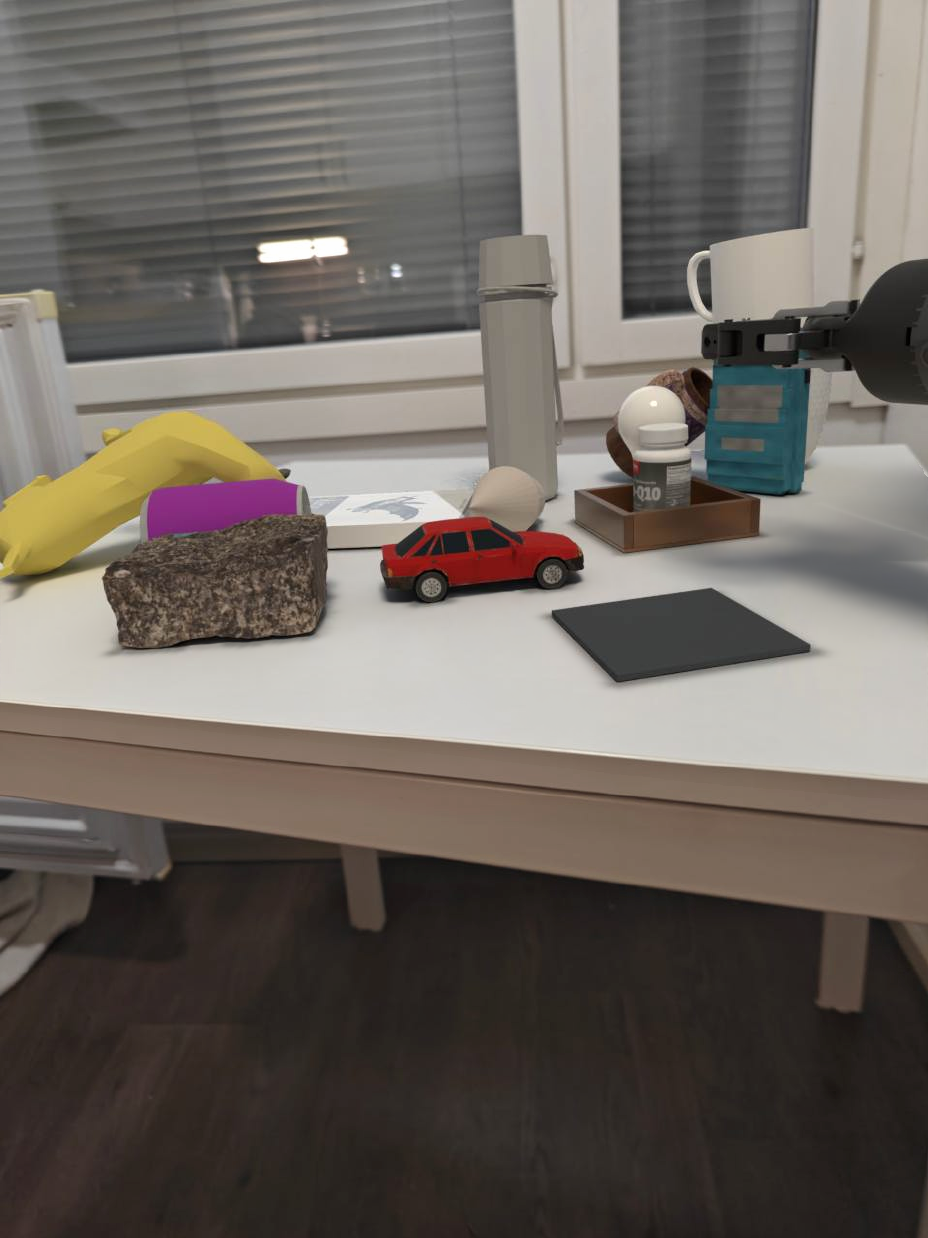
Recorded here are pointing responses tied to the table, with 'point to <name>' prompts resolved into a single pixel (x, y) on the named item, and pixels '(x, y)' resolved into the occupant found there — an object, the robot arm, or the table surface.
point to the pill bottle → (662, 467)
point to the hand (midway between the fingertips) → (757, 336)
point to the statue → (118, 487)
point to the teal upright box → (757, 427)
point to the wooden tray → (667, 517)
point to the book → (386, 515)
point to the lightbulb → (648, 412)
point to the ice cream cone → (508, 498)
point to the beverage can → (218, 505)
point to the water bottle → (520, 357)
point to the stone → (222, 582)
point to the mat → (674, 633)
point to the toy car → (475, 556)
